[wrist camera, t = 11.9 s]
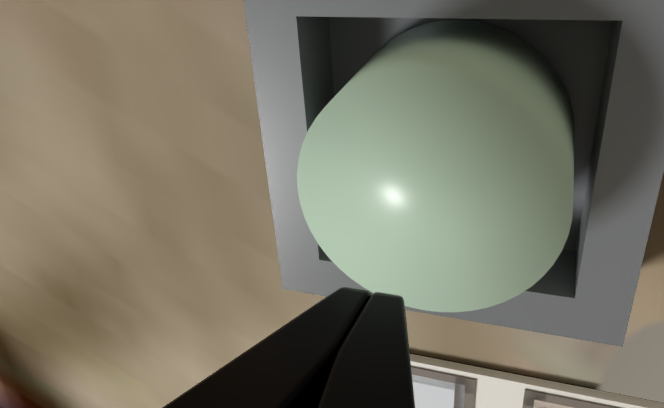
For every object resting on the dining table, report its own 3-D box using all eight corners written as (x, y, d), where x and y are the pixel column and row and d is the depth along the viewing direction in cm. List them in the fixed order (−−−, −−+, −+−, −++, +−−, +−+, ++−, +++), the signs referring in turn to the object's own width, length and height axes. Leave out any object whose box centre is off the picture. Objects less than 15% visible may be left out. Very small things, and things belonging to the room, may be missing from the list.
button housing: (616, 275, 15) (623, 346, 13) (317, 234, 18) (282, 289, 16) (690, -75, 11) (715, -54, 9) (289, -62, 14) (237, -43, 12)
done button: (559, 240, 14) (554, 332, 11) (353, 215, 16) (308, 290, 13) (591, 21, 11) (594, 75, 9) (342, 17, 13) (283, 62, 10)
